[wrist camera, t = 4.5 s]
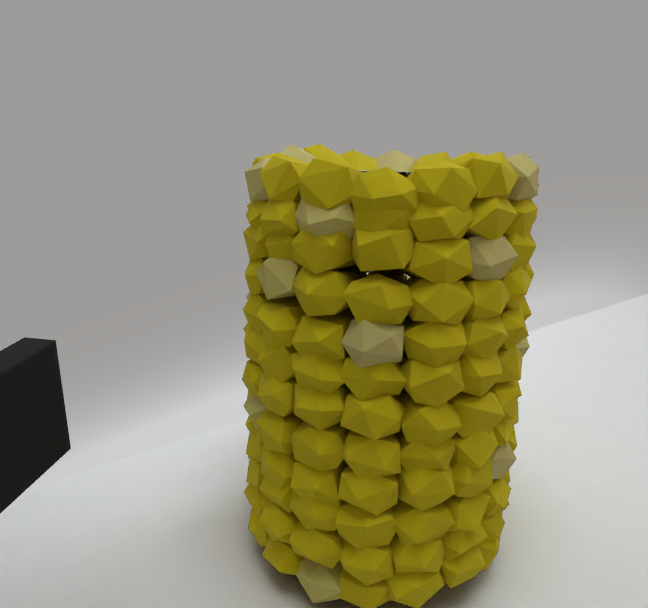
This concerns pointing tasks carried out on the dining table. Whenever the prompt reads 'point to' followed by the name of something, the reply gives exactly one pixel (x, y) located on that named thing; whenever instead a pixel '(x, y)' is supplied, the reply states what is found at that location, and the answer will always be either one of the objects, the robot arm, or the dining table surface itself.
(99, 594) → the dining table surface
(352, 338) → the food
